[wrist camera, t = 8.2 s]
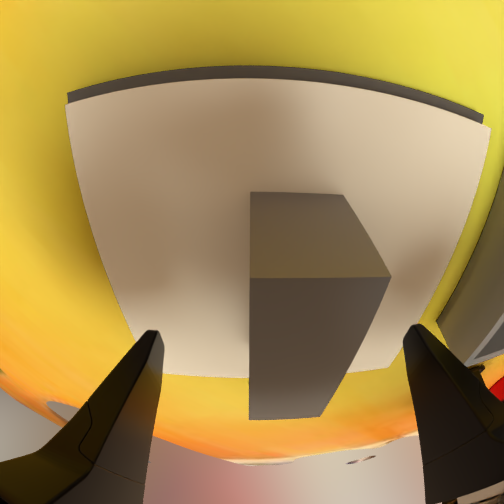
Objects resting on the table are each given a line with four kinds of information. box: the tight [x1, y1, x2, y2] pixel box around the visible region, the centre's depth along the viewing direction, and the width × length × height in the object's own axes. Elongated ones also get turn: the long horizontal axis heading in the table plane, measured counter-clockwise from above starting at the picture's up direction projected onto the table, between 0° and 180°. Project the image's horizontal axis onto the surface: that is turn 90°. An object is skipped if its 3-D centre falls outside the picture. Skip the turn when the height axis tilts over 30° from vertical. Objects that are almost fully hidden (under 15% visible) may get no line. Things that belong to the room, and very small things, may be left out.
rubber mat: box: [67, 66, 484, 124], centre depth 12 cm, size 16×16×1 cm
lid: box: [65, 78, 491, 420], centre depth 10 cm, size 15×15×5 cm
